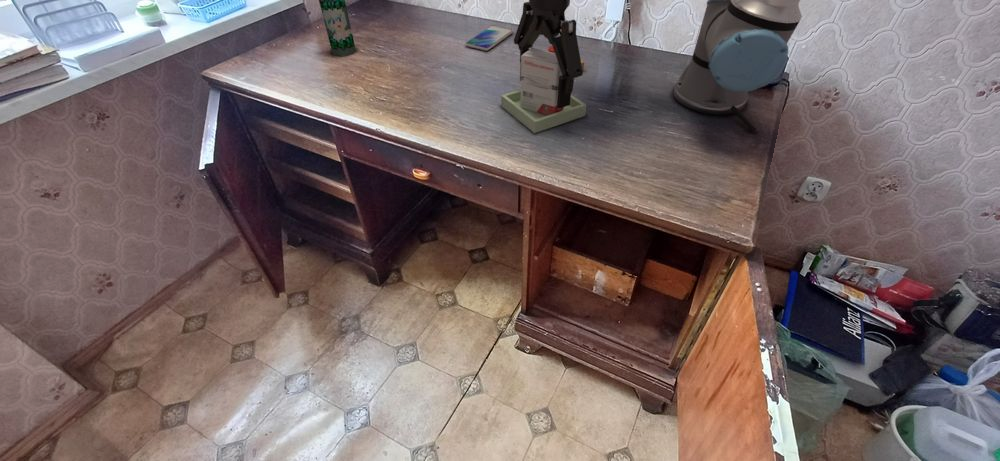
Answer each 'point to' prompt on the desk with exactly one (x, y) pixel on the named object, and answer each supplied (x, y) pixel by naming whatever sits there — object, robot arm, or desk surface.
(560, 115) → the tray
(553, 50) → the power button
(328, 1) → the can
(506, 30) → the smartphone
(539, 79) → the ink box
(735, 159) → the desk surface
